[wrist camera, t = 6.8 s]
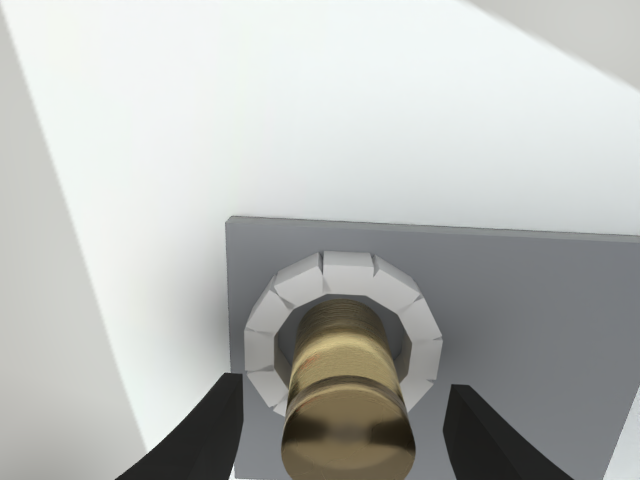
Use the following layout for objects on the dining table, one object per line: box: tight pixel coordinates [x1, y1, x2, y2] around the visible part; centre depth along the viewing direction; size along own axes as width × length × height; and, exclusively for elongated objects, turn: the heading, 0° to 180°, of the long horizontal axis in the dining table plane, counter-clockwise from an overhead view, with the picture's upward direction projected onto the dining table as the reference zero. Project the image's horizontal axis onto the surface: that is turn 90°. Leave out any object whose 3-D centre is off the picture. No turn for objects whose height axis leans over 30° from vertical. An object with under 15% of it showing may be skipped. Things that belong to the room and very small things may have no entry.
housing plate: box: [225, 216, 640, 480], centre depth 17 cm, size 19×14×2 cm
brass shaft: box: [281, 299, 416, 480], centre depth 14 cm, size 4×4×6 cm
